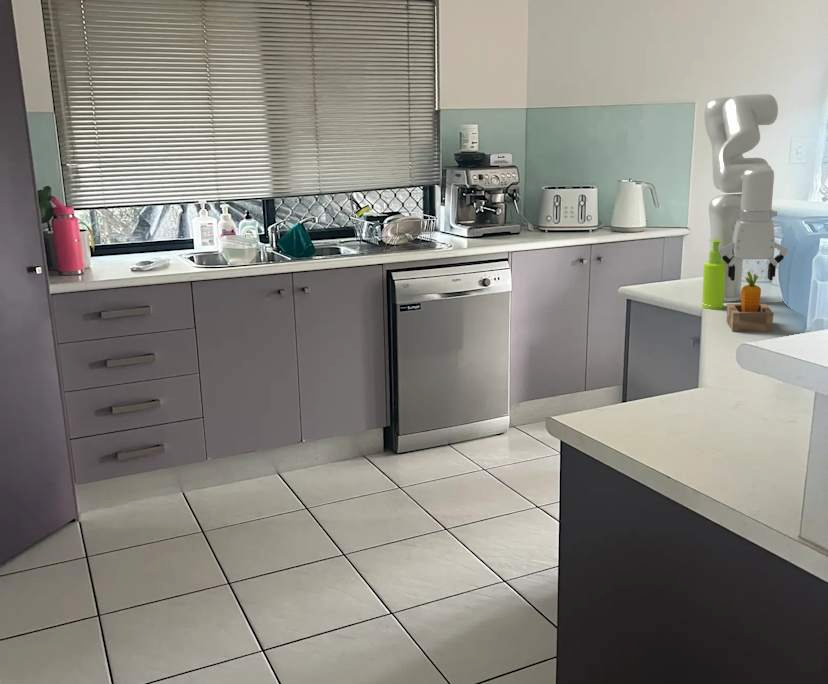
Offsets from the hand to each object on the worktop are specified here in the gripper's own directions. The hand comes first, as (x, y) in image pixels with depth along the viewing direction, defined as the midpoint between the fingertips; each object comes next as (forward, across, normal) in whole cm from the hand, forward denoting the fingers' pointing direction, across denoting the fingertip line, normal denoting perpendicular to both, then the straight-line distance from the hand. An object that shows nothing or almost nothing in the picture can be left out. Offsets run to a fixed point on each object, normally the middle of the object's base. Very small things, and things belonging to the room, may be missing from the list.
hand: (750, 279), depth 224 cm
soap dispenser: (+14, +6, -21) cm, 26 cm away
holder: (+13, 0, +1) cm, 13 cm away
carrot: (+13, 0, +1) cm, 13 cm away
